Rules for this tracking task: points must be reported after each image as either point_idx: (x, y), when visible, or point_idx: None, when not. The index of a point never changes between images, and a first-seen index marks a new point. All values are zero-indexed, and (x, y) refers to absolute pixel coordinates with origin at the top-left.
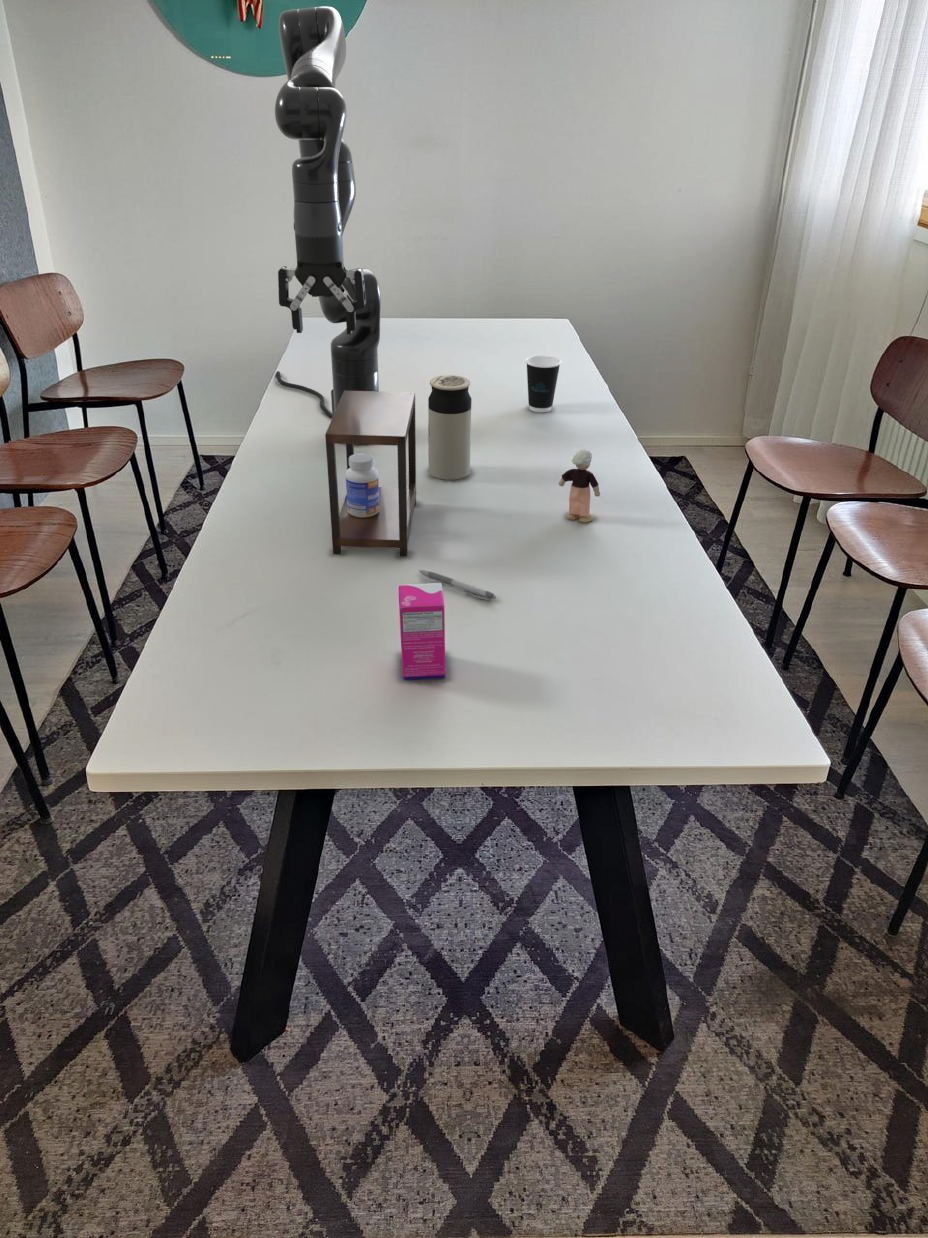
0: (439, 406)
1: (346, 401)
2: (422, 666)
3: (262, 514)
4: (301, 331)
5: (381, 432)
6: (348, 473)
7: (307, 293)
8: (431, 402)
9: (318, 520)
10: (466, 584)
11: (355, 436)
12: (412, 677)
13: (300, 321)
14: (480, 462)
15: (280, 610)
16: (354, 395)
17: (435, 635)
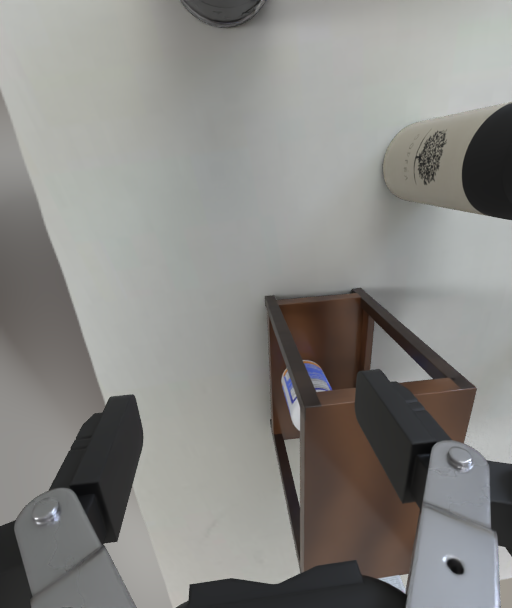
0: (493, 215)
1: (320, 466)
2: None
3: (152, 352)
4: (139, 423)
5: (396, 566)
6: (298, 429)
7: (117, 570)
8: (479, 198)
9: (233, 356)
10: None
11: None
12: None
13: (129, 467)
14: (478, 101)
15: (243, 512)
16: (334, 433)
17: None
